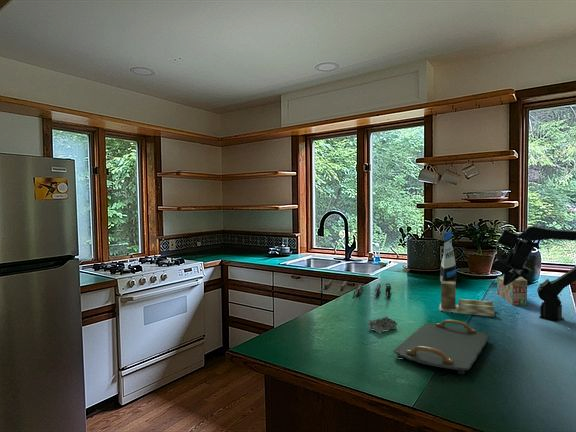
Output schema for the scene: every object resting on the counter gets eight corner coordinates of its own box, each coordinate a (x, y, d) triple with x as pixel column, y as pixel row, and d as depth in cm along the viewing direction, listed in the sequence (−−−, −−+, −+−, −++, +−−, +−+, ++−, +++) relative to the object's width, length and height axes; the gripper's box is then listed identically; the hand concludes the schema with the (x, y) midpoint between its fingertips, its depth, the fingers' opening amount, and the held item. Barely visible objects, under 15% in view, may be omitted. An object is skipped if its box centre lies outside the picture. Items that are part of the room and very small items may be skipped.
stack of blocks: (496, 294, 196) (496, 270, 195) (509, 294, 195) (510, 271, 194) (512, 305, 175) (512, 279, 174) (527, 306, 174) (527, 279, 173)
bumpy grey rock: (378, 335, 142) (378, 324, 142) (366, 329, 149) (365, 319, 148) (399, 330, 146) (399, 319, 146) (387, 324, 153) (386, 314, 153)
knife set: (317, 300, 187) (317, 284, 187) (329, 288, 219) (329, 275, 219) (389, 306, 177) (389, 290, 177) (391, 292, 208) (391, 278, 208)
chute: (492, 310, 168) (492, 301, 168) (494, 316, 159) (494, 307, 159) (439, 305, 177) (439, 297, 177) (439, 311, 168) (439, 302, 168)
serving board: (427, 327, 149) (427, 312, 149) (492, 340, 135) (492, 323, 134) (388, 362, 118) (388, 343, 118) (467, 383, 104) (467, 361, 104)
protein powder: (435, 283, 222) (435, 233, 221) (444, 276, 242) (443, 230, 241) (453, 285, 217) (452, 234, 215) (459, 277, 237) (459, 230, 236)
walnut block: (455, 305, 173) (455, 281, 172) (455, 308, 167) (455, 284, 167) (441, 304, 175) (441, 280, 175) (441, 307, 170) (441, 283, 169)
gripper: (519, 249, 170) (503, 279, 174) (492, 241, 163) (475, 272, 167) (542, 260, 160) (524, 291, 164) (513, 252, 153) (495, 285, 157)
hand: (504, 285), depth 163 cm, fingers closed
